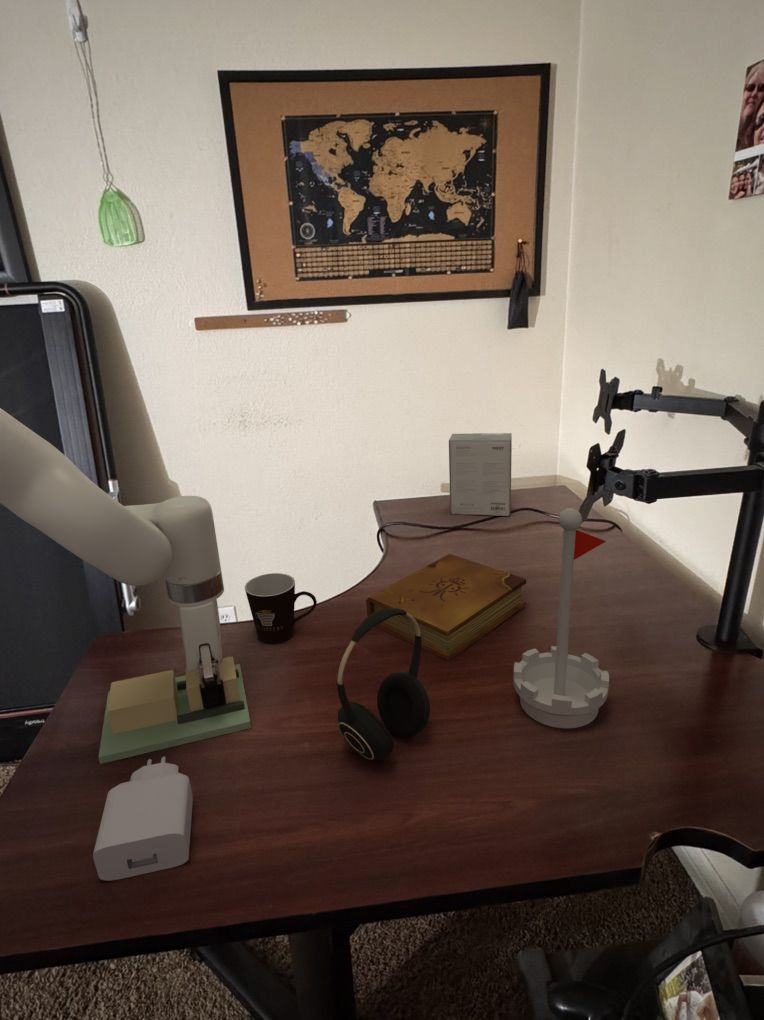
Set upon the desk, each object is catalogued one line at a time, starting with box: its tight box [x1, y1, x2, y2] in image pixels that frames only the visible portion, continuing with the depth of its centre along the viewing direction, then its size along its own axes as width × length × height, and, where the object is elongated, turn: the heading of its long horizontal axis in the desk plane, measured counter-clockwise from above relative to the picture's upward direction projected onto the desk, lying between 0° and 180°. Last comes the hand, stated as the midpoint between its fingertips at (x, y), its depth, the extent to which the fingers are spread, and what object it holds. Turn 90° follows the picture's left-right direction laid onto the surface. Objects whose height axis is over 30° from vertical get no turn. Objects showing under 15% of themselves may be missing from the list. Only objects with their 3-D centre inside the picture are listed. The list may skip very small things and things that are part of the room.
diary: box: [365, 553, 527, 662], centre depth 115 cm, size 23×19×6 cm
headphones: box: [336, 608, 431, 761], centre depth 81 cm, size 9×15×20 cm, turn 135°
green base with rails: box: [98, 663, 252, 765], centre depth 92 cm, size 20×15×5 cm
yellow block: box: [185, 656, 240, 712], centre depth 93 cm, size 7×6×4 cm
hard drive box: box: [448, 432, 513, 517], centre depth 161 cm, size 16×8×20 cm, turn 77°
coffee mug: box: [244, 572, 318, 645], centre depth 109 cm, size 12×9×10 cm
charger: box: [92, 756, 194, 882], centre depth 74 cm, size 5×9×15 cm
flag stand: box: [512, 507, 610, 729], centre depth 86 cm, size 13×13×30 cm
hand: (213, 691), depth 94 cm, fingers closed on yellow block, 6 cm apart
